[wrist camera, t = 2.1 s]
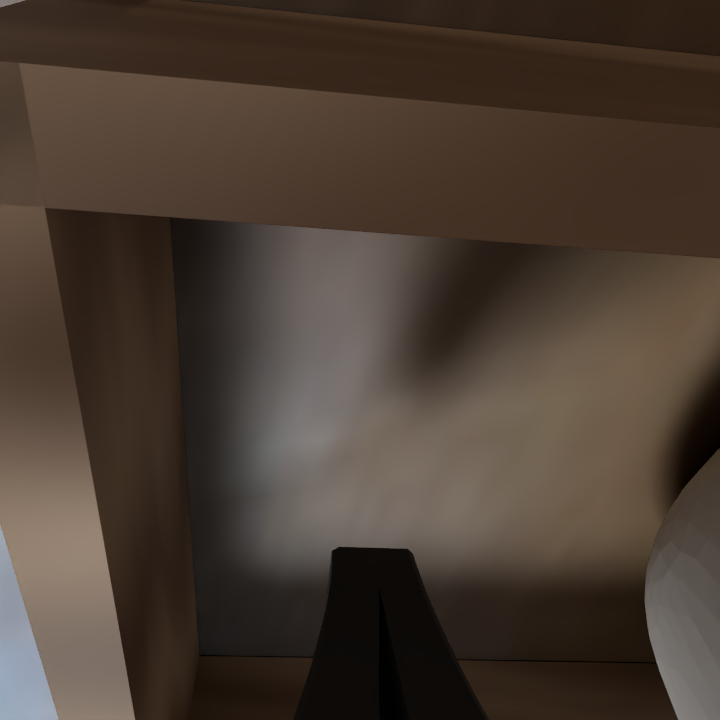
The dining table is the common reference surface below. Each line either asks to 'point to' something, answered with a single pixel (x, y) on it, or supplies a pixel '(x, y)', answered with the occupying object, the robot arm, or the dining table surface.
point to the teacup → (688, 597)
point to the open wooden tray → (287, 208)
